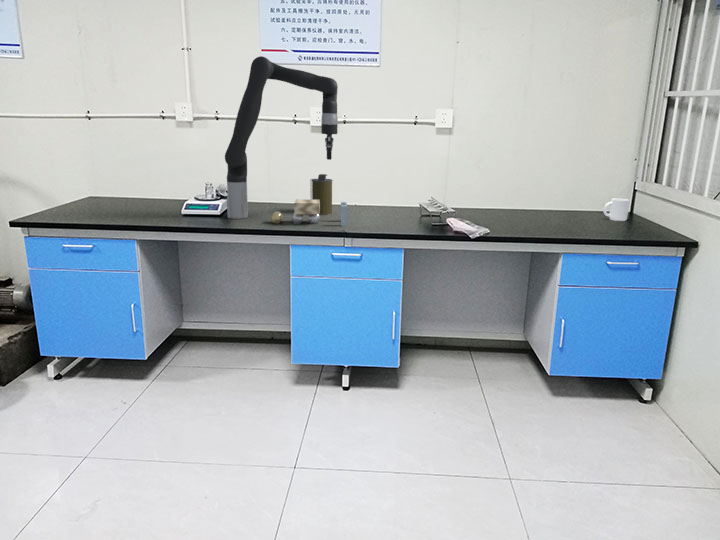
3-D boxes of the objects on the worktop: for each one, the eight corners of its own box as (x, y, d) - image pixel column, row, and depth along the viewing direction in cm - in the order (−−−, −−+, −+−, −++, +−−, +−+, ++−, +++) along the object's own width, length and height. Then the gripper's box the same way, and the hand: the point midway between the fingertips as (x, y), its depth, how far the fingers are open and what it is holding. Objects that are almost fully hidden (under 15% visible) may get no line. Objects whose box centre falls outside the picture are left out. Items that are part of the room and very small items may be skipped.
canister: (333, 212, 288) (333, 173, 282) (330, 216, 278) (330, 175, 272) (313, 212, 289) (312, 173, 283) (309, 215, 279) (308, 175, 273)
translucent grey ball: (306, 220, 254) (312, 211, 253) (306, 218, 260) (312, 209, 259) (315, 226, 255) (321, 217, 254) (315, 224, 261) (321, 215, 260)
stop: (341, 225, 252) (341, 206, 249) (340, 220, 265) (341, 201, 263) (346, 226, 252) (347, 206, 249) (346, 220, 265) (346, 201, 263)
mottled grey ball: (294, 225, 255) (290, 215, 253) (295, 223, 260) (291, 213, 259) (304, 222, 254) (300, 211, 253) (305, 219, 260) (301, 209, 259)
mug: (605, 220, 277) (607, 200, 274) (598, 218, 285) (601, 198, 282) (629, 221, 277) (632, 200, 274) (622, 218, 285) (625, 198, 282)
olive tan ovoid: (271, 224, 254) (270, 213, 253) (272, 222, 260) (271, 211, 259) (281, 223, 254) (281, 213, 253) (283, 221, 260) (282, 211, 259)
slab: (294, 214, 250) (294, 203, 249) (296, 210, 262) (296, 199, 261) (319, 214, 251) (319, 203, 250) (319, 210, 262) (319, 199, 261)
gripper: (321, 123, 267) (321, 157, 271) (321, 123, 253) (320, 159, 257) (337, 123, 267) (336, 158, 271) (337, 123, 253) (337, 160, 257)
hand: (329, 158), depth 264 cm, fingers open, 8 cm apart
